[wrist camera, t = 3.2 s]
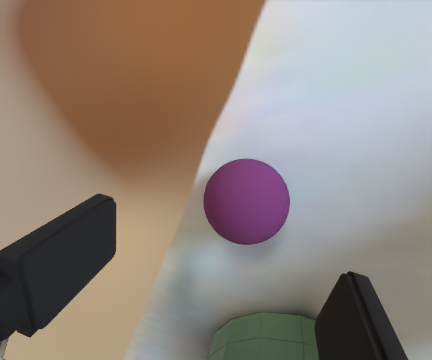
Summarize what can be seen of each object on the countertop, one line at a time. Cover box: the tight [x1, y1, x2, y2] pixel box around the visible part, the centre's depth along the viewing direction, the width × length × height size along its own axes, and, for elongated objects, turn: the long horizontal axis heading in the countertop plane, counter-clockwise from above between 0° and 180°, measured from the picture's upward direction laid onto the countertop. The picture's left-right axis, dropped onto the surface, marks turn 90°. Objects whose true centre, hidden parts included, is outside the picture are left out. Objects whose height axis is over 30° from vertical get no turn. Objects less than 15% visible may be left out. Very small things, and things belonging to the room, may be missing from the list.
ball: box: [204, 159, 290, 245], centre depth 14 cm, size 5×5×5 cm
